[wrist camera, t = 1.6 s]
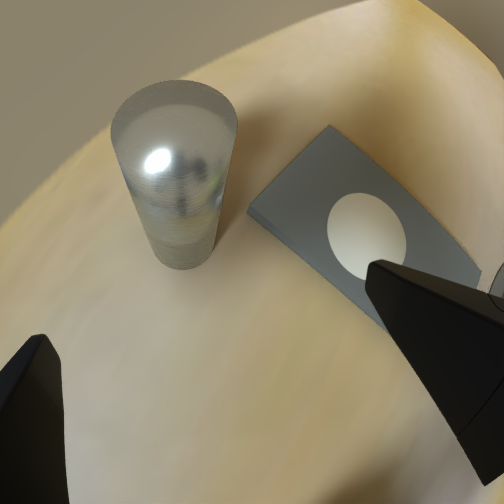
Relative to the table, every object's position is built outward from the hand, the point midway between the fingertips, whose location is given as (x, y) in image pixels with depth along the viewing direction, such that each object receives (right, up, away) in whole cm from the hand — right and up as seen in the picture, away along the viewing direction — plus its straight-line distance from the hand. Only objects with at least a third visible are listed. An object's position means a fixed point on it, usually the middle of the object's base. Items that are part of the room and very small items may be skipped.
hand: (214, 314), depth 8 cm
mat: (+12, +2, +16) cm, 20 cm away
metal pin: (-4, +2, +13) cm, 14 cm away
